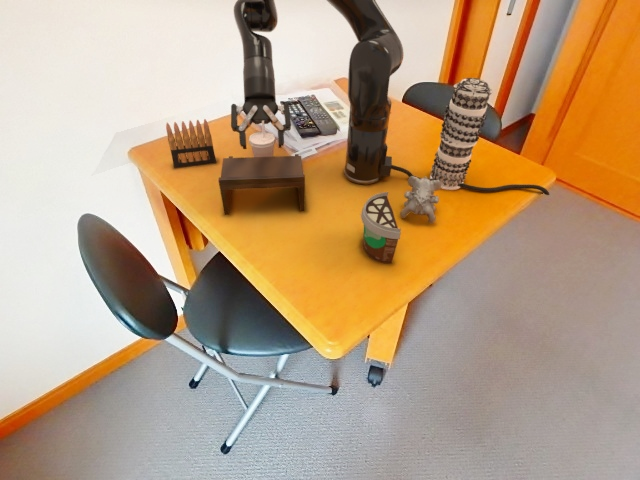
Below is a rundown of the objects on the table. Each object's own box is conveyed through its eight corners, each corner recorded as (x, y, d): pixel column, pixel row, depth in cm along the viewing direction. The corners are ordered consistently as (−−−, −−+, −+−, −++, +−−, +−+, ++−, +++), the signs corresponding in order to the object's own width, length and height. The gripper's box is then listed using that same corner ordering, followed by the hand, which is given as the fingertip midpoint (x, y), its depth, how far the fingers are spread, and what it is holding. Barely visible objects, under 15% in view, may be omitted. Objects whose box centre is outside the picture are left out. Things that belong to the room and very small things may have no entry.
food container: (353, 228, 86) (357, 191, 80) (380, 227, 87) (387, 190, 80) (362, 270, 77) (367, 231, 71) (393, 268, 78) (401, 230, 71)
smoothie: (273, 180, 99) (269, 128, 90) (248, 176, 100) (242, 125, 91) (280, 166, 104) (277, 116, 94) (256, 163, 105) (251, 113, 95)
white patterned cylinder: (421, 180, 101) (444, 81, 84) (439, 166, 106) (465, 70, 89) (453, 195, 97) (484, 94, 80) (471, 180, 102) (504, 82, 85)
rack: (298, 162, 106) (298, 129, 99) (304, 211, 90) (304, 176, 84) (230, 164, 104) (225, 131, 98) (224, 215, 89) (218, 180, 82)
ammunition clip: (215, 159, 106) (208, 117, 98) (216, 163, 104) (209, 120, 96) (174, 164, 103) (163, 121, 95) (174, 168, 102) (162, 124, 94)
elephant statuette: (401, 225, 88) (407, 197, 82) (392, 193, 96) (397, 166, 91) (442, 225, 88) (451, 198, 83) (430, 193, 97) (437, 166, 92)
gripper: (227, 75, 92) (230, 144, 91) (288, 74, 93) (292, 142, 93) (231, 88, 99) (234, 152, 99) (288, 87, 101) (291, 151, 100)
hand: (262, 147), depth 96 cm, fingers open, 8 cm apart
